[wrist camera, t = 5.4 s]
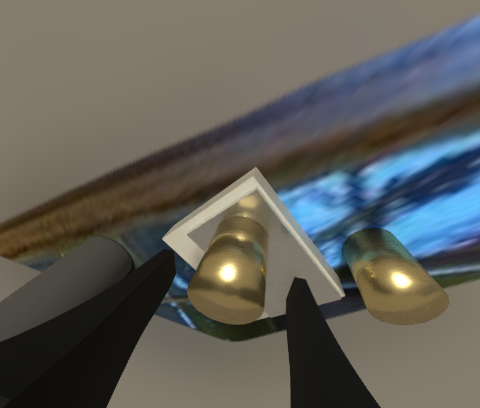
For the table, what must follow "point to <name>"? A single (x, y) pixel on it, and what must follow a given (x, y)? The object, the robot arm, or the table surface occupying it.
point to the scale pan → (273, 252)
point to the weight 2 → (392, 279)
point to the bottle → (64, 285)
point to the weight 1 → (232, 273)
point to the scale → (243, 185)
